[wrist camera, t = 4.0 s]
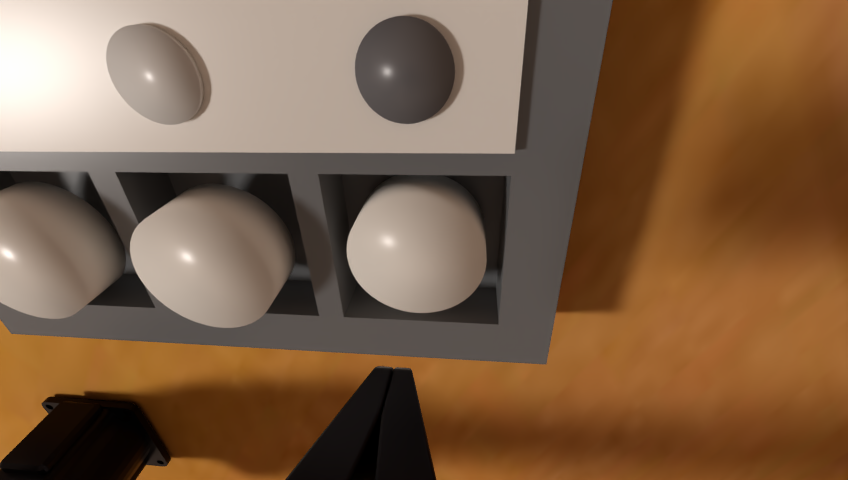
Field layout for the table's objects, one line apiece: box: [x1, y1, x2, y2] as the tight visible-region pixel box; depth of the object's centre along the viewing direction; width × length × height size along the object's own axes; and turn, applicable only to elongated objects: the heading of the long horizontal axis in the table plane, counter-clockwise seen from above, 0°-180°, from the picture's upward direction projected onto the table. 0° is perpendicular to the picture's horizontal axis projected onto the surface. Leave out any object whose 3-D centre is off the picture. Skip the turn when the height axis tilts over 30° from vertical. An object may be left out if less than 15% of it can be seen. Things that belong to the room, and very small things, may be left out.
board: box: [0, 0, 613, 364], centre depth 15 cm, size 14×24×4 cm, turn 92°
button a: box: [347, 175, 487, 313], centre depth 15 cm, size 5×5×2 cm
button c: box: [0, 181, 126, 319], centre depth 15 cm, size 5×5×2 cm
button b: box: [130, 184, 295, 328], centre depth 14 cm, size 5×5×2 cm
